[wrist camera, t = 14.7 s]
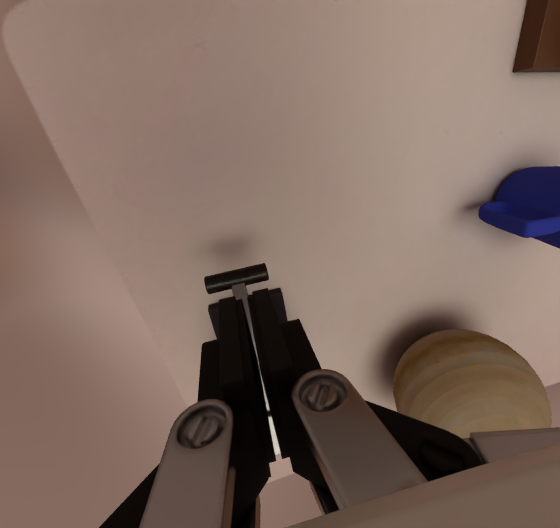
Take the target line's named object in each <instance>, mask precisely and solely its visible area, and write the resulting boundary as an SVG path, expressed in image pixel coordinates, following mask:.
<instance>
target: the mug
mask: <svg viewBox="0 0 560 528" xmlns="http://www.w3.org/2000/svg"><path fill="white" fill-rule="evenodd" d="M478 215H479V218H480V219H481V220H483V221H484V222H486V223H488V224H490V225H492V226H495V227H497V228H499V229H502V230H505V231H507V232H510V233H513V234H516V235H518V236H521V237H525V238H529V237H532V238H535V239H537V240H540V241H542V242H545V243H547V244H550V245H552V246H555V247H557V248H560V166H554V167H530V168H526V169H522V170H520V171H518V172H516V173H514V174H512V175H511V176H510V177H509V178H507V179H506V180H505V182H504V183H503V184H502V185H501V187H500V188H499V190H498V193H497V195H496V198H495V202H490V203H485V204H483V205H481V206H480V208H479V213H478Z"/></svg>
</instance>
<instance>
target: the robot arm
mask: <svg viewBox="0 0 560 528" xmlns="http://www.w3.org/2000/svg"><path fill="white" fill-rule="evenodd" d="M252 293H253V296H251V297H247V301H248V306H249V312H250V317H251V323H252V328H253V334H254V339H255V344H256V350H257V355H258V360H257V356H256V352H255V348H254V344H253V340H252V336H251V332H250V328H249V324H248V320H247V316H246V312H245V308H244V304H243V300H242V299H238V300H236V297H235V296H233V297H228V298H224V299H220V300H219V339H217V340H213V341H209V342H205V343H203V344H202V352H201V364H200V377H199V390H198V402H197V403H195V404H193V405H192V406H190V407H188V408H187V409H186V410H185V411H183V412H182V413H181V414H180V415H179V417H178V418H177V419H176V420H175V422H174V424H173V426H172V428H171V430H170V433H169V437H168V440H167V443H166V446H165V449H164V452H163V455H162V458H161V461H160V464H159V465H158V466H157V467H156V468H155V469H154V470H153V471H152V472H151V473H150V474H149V475H148V476H147V477H146V478H145V479H144V481H142V483H141V484H140V485H139V486H138V487H137V488H136V489H135V490H134V491H133V492H132V493H131V494H130V495H129V496H128V497H127V499H126V500H125V501H124V502H123V503H122V504H121V505H120V506H119V507H118V508H117V509H116V510H115V511H114V512H113V513H112V514H111V515H110V516H109V518H108V519H107V520H106V521H105V522H104V523H103V524H102V525H101V526H100V527H99V528H260V497H259V493H260V492H261V490H262V488H263V487H264V485H265V484H266V482H267V481H268V477H271V473H270V467H269V463H270V462H274V461H276V457H275V452H274V446H273V441H272V435H271V429H270V424H269V418H268V413H267V407H266V402H265V396H264V391H263V385H264V389H265V393H266V397H267V401H268V405H269V409H270V413H271V417H272V421H273V425H274V429H275V433H276V437H277V441H278V444H279V448H280V452H281V456H282V459H284V458H287V457H290V460H291V464H292V469H293V472H295V473H297V474H298V475H300V476H302V477H304V478H305V479H307V480H309V482H310V486H311V489H312V492H313V494H314V496H315V499H316V501H317V504H318V506H319V508H320V510H321V513H322V516H320V517H317V518H314V519H311V520H307V521H304V522H301V523H298V524H295V525H292V526H289V527H286V528H560V428H558V427H556V428H539V429H522V430H505V431H489V432H472V433H470V436H469V438H460V437H459V436H457V435H455V434H453V433H451V432H449V431H447V430H444V429H442V428H439V427H436V426H433V425H431V424H428V423H425V422H422V421H420V420H417V419H414V418H412V417H409V416H406V415H403V414H401V413H398V412H395V411H393V410H390V409H387V408H384V407H382V406H379V405H376V404H373V403H371V402H368V401H365V400H364V399H363V398H362V397H361V395H360V394H359V393H358V391H357V390H356V389H355V388H354V386H353V385H352V384H351V383H350V381H349V380H348V379H347V378H346V377H345V376H344V375H342V374H340V373H338V372H336V371H333V370H328V369H321V367H320V364H319V362H318V360H317V358H316V356H315V353H314V351H313V349H312V347H311V344H310V342H309V340H308V338H307V336H306V333H305V331H304V329H303V327H302V324H301V322H300V320H299V319H296V320H292V321H288V322H284V323H280V324H279V321H278V318H277V315H276V312H275V309H274V306H273V303H272V300H271V297H270V294H269V291H268V288H266V289H262V290H258V291H254V292H252ZM258 361H259V364H258ZM259 366H260V369H259ZM260 371H261V374H260ZM261 376H262V380H261ZM262 381H263V385H262Z"/></svg>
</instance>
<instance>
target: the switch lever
mask: <svg viewBox="0 0 560 528" xmlns="http://www.w3.org/2000/svg"><path fill="white" fill-rule="evenodd" d="M266 280H269V277H268V272H267V268H266V265H265V263H262V264H258V265H253V266H249V267H245V268H241V269H236V270H232V271H228V272H223V273H219V274H215V275H210V276H206V277H205V278H204V281H205V287H206V290H207V293H208V294H212V293H216V292H220V291H224V290H229V289H232V291H233V295H234V296H235V297H236V300H238V299H242V300H243V304H244V308H245V312H246V316H247V320H248V324H249V328H250V332H251V336H252V340H253V344H254V348H255V352H256V356H257V360H258V355H257V350H256V344H255V339H254V334H253V328H252V323H251V317H250V312H249V306H248V301H247V297H248V293H247V289H246V285H250V284H254V283H258V282H262V281H266ZM258 364H259V361H258ZM259 369H260V366H259ZM260 374H261V371H260ZM261 380H262V376H261ZM262 385H263V381H262ZM263 391H264V396H265V402H266V407H267V413H268V418H269V424H270V429H271V435H272V441H273V446H274V452H275V455H279V454H281V452H280V448H279V444H278V441H277V437H276V433H275V429H274V425H273V421H272V417H271V413H270V409H269V405H268V401H267V397H266V393H265V389H264V385H263Z"/></svg>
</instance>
